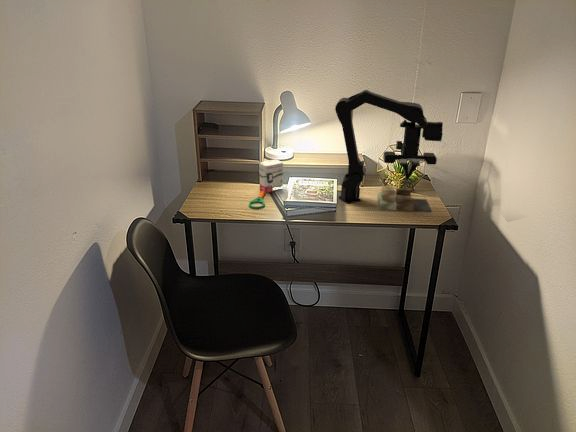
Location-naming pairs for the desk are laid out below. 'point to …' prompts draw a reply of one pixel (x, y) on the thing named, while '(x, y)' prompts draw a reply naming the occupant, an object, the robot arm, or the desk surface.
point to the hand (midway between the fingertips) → (406, 179)
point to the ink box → (270, 175)
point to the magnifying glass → (258, 201)
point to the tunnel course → (403, 202)
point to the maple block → (388, 193)
